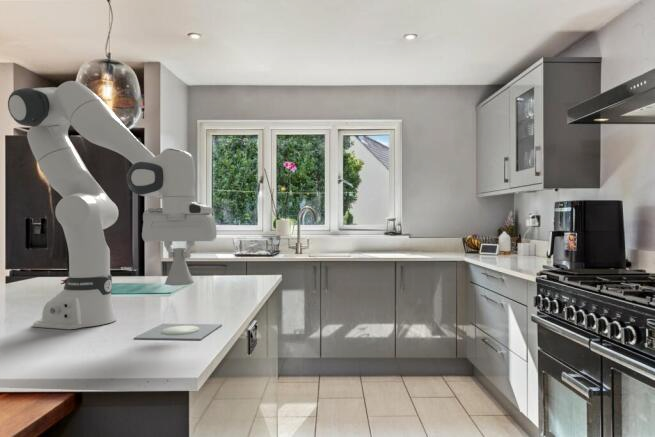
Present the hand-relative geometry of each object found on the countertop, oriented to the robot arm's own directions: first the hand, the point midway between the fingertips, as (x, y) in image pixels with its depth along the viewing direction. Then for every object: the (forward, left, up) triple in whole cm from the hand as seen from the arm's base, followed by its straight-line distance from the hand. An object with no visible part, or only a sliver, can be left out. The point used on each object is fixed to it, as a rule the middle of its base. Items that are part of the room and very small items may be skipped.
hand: (179, 258), depth 124 cm
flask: (0, 0, -8) cm, 8 cm away
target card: (0, 0, -20) cm, 20 cm away
